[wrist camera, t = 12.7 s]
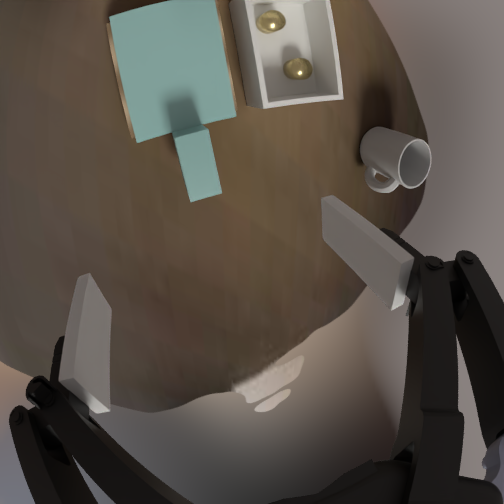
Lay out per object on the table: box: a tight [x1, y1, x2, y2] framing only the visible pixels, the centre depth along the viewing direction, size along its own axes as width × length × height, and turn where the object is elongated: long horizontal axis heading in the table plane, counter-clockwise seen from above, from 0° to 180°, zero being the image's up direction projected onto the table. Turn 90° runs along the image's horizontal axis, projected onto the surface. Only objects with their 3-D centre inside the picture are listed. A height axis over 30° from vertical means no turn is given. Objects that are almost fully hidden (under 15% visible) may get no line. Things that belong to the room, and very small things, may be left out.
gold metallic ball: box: [256, 10, 286, 34], centre depth 26 cm, size 3×3×2 cm
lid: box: [109, 0, 236, 202], centre depth 24 cm, size 21×11×6 cm, turn 10°
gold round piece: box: [283, 58, 313, 80], centre depth 30 cm, size 3×3×2 cm
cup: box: [360, 127, 431, 193], centre depth 38 cm, size 7×10×9 cm
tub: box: [229, 0, 343, 109], centre depth 27 cm, size 14×10×6 cm
